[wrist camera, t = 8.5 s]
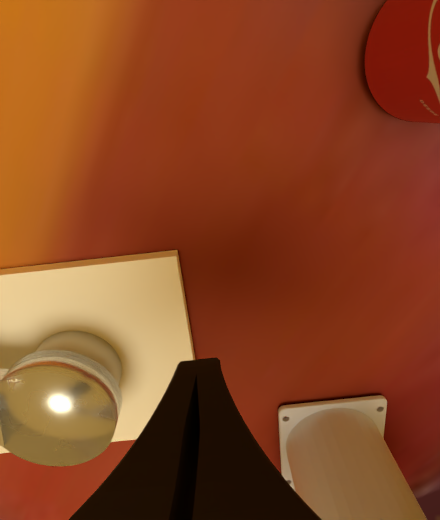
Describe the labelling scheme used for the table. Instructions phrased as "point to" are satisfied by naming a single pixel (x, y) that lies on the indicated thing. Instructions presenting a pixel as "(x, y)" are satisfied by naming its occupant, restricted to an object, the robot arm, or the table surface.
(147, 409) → the base
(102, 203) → the table surface
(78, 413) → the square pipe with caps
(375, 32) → the beverage can
